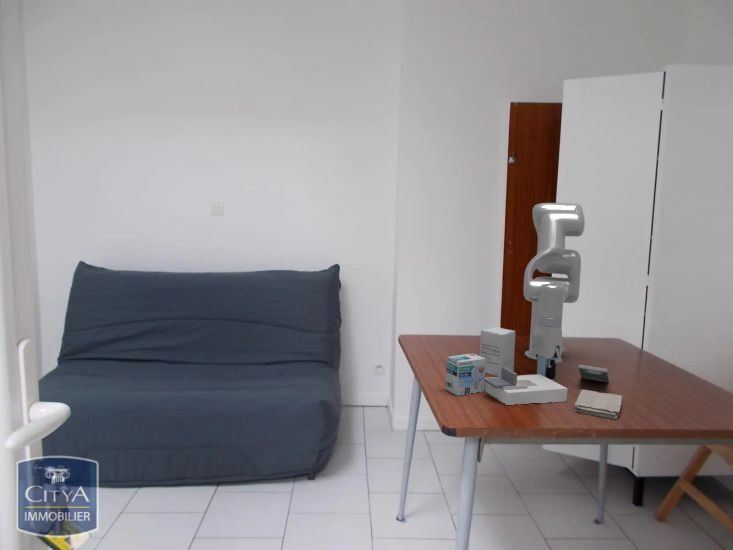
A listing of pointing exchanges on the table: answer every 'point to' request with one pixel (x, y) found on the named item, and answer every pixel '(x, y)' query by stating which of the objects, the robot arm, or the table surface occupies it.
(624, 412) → the table surface
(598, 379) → the light switch
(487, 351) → the supplement box
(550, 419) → the table surface
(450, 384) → the light bulb box
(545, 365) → the plug
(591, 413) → the washcloth
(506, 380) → the block
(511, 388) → the socket block
